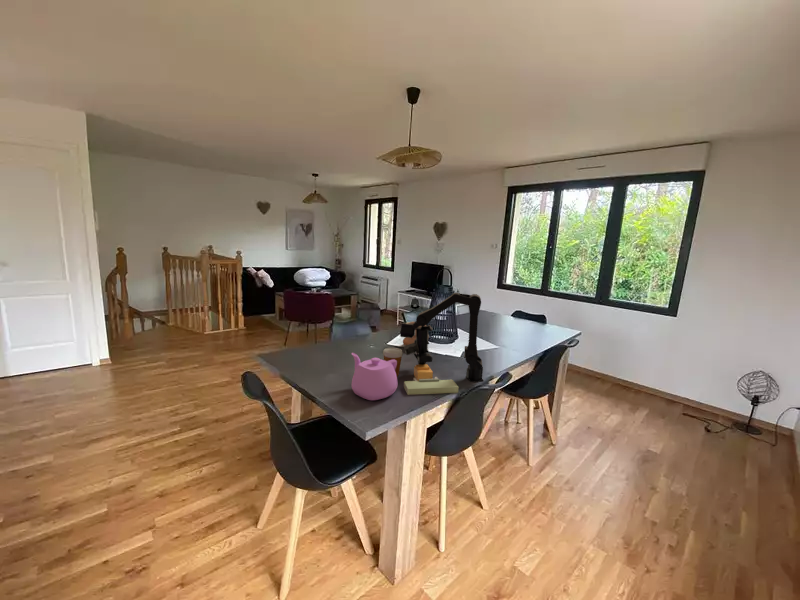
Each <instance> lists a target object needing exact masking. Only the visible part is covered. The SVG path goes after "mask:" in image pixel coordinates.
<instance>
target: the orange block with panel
mask: <svg viewBox="0 0 800 600" xmlns="http://www.w3.org/2000/svg"><path fill="white" fill-rule="evenodd" d="M433 375H434V372H433V370H432V369H431V367H430V366H429V365H428V364H427V363H425V364H422V365H418V364H415V366H413V376H414V378H416V379H417V381H419V379H434V378H433V377H434V376H433Z"/></svg>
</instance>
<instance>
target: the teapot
mask: <svg viewBox="0 0 800 600" xmlns="http://www.w3.org/2000/svg"><path fill="white" fill-rule="evenodd" d="M351 356H352V357H353V359H354V373H353V376H352V380H351V389H352V392H353V393H354V394H355V395H357V396H358V397H360V398H362V399H364V400H365V399H366V400H368V401H379V400H381V399H385V398H388V397H390V396H392V395H393V394H394V393H395V392H396V390H397V388H398V376H396V372H395V368H396V366H397V361H396V360H394V359H393V360H389V361H385V360H384V359H380V358H379V357H372V358H370V359H366V360H364V361H362V362H361V359H360V357H359V356H358V354H357V353H355V352H351Z"/></svg>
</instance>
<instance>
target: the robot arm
mask: <svg viewBox="0 0 800 600" xmlns="http://www.w3.org/2000/svg"><path fill="white" fill-rule="evenodd" d="M456 303H458V304H461V305H464V306H468V312H469V327H468V329H469V331H468V342H467V343H468V344H467V346H466V345H465V346H464V355H463V358H464V359H465V362H466V363H467V364H468V365H467V368H466V373H465V377H466V378H467V379H468V380H469V381H470V382H484V379H483V372H484V367H483V360H482V358H481V357H480V356H479V352H478V346H477V345H478V344H477V343H478V341H477V340H478V338H477V337H478V325H479V323H478V321H479V320H478V318H479V313H480V309H481V305H482V297H481V296H480V295H479V294H476V293H472V294H466V293H459V292H454V293H452V294H451V295H450V296H448V297H446V298H445V299H443V300H442V301H440V303H438V304H436V305H435V306H433V307H432V308H428V309H426V310H423V311H421V312H420V313H418V315H417V316H416V320H415V321H413V322H414V323H413V324H407V322H402V323H401V327H400V331H399V336H400V337H401V338H405V337H406V338H413V336H415V332H416V339H415V340H414V343H412V344H409V345H406V346H405V345H404V346H403V350H404V353H405V354H406V356H409V355H410V354H413V355H414V357H415V359H416V360H417V365H422V364H427V363H433V356H432V355H431V354H430V353H429V349H428V348H429V346H428V345H429V344H430V342H429V338H428V335H429V332H432V331H433V329H434V328H433V327H432V326H431V325H430V324H429V323H430V322H431V321H432V320H433V319H434V318H435V317H436V316H438V315H439V314H441V313H442V312H444V311H445V310H447V309H448V308H450V307H452V306H453V305H455V304H456ZM425 325H426V326H425ZM419 326H421V327H419Z"/></svg>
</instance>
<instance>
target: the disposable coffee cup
mask: <svg viewBox="0 0 800 600" xmlns="http://www.w3.org/2000/svg"><path fill="white" fill-rule="evenodd" d="M403 355H404V352H403V350H402V349H401V348H397V347H386V348H384V349H383V351H382V356H383V360H385V361H389V360H393V359H394V360H396V361H397V366H396V368H395V372H396V376H397V377H398V376H399V375H400V369H401V364H402V362H401V361H402V357H403Z"/></svg>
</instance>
